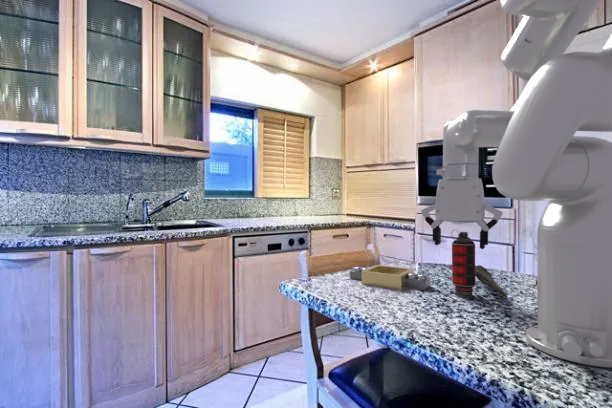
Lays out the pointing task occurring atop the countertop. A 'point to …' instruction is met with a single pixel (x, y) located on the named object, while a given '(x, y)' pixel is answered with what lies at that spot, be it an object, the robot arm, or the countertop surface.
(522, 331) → the countertop surface
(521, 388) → the countertop surface
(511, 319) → the countertop surface
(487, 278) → the tool
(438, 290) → the countertop surface
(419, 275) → the chain joint
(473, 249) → the grenade
